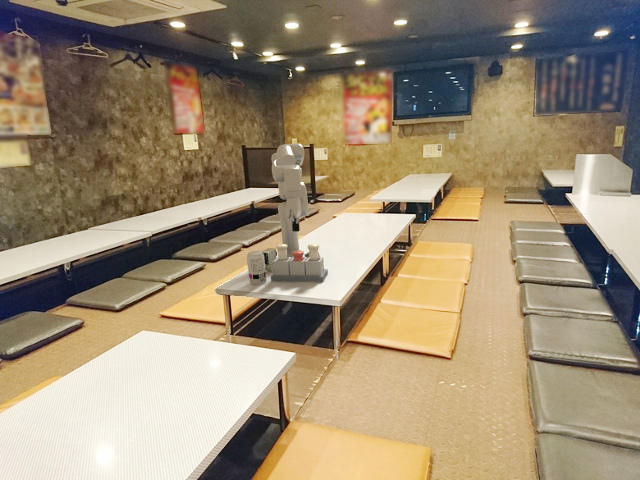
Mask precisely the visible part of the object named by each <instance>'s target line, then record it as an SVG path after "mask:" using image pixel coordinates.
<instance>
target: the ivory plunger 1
mask: <svg viewBox="0 0 640 480" xmlns="http://www.w3.org/2000/svg"><path fill="white" fill-rule="evenodd" d="M286 248H288V246H287V244H283V243H280V244H277V245H276V246H275V249H276V250H277V258H278V260H279V261H287V249H286Z"/></svg>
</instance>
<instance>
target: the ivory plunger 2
mask: <svg viewBox="0 0 640 480" xmlns="http://www.w3.org/2000/svg"><path fill="white" fill-rule="evenodd" d="M307 249H308V252H309V255H310V261H319V255H320V253H319V254H318V252H319V249H320V244H319V243H311V244H307Z"/></svg>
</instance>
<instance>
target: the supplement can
mask: <svg viewBox="0 0 640 480" xmlns="http://www.w3.org/2000/svg"><path fill="white" fill-rule="evenodd" d="M246 261H247V263H246V264H247V270H248V271H247V272H248V281H249V284H250V285H253V286H258V285H259V286H261V285H263V284H265V283H266V282H267V274H266V273H267V271H265V265H266V264H265V260H264V254H263V253H262V250H261V251H260V250H256V251H255V250H254V251H250V252H248V253H247V255H246Z"/></svg>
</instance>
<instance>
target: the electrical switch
mask: <svg viewBox="0 0 640 480" xmlns="http://www.w3.org/2000/svg"><path fill="white" fill-rule="evenodd" d="M318 254H319V257H321V255H320V251H318ZM304 257H310V255H309V251H308V252H307V253H304Z"/></svg>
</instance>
